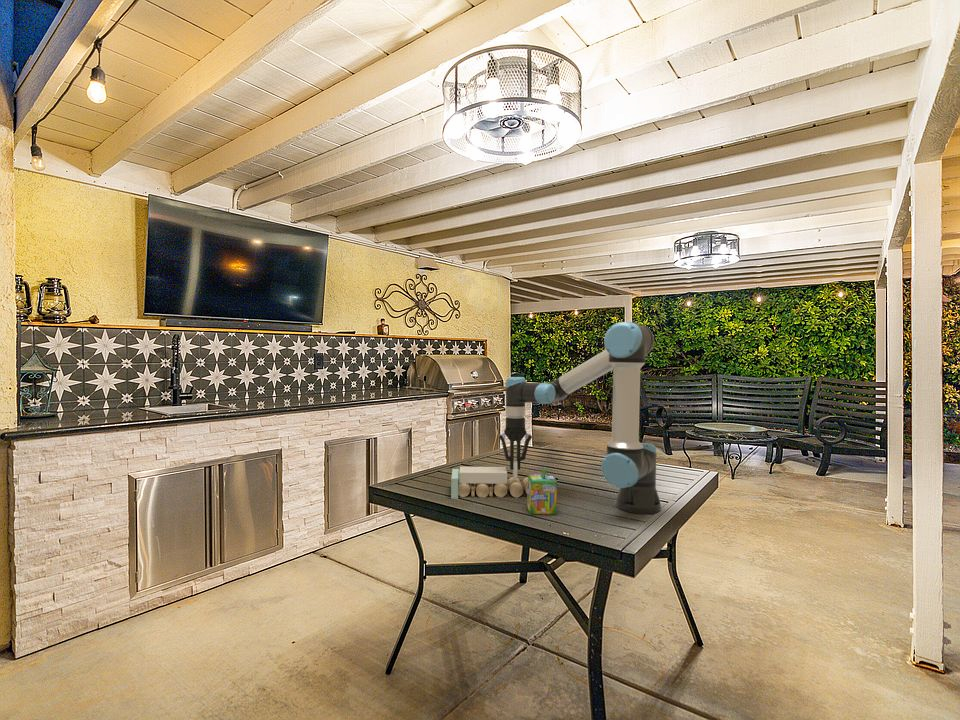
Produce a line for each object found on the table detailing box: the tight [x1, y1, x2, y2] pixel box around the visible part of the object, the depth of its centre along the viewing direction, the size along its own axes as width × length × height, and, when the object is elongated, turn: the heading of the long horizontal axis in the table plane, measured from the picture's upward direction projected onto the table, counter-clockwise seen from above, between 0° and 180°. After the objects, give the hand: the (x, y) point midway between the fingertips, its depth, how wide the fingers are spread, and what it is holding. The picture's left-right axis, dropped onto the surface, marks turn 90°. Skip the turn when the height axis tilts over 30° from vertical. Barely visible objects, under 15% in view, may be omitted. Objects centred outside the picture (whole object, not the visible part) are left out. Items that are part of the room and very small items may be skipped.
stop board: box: [450, 468, 460, 500], centre depth 189 cm, size 16×2×8 cm, turn 2°
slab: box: [459, 466, 508, 485], centre depth 189 cm, size 10×18×4 cm, turn 91°
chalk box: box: [526, 466, 558, 515], centre depth 169 cm, size 9×9×15 cm
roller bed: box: [458, 476, 528, 498], centre depth 189 cm, size 11×31×5 cm, turn 92°
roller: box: [474, 483, 489, 498], centre depth 189 cm, size 11×5×5 cm, turn 2°
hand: (515, 478), depth 189 cm, fingers closed
